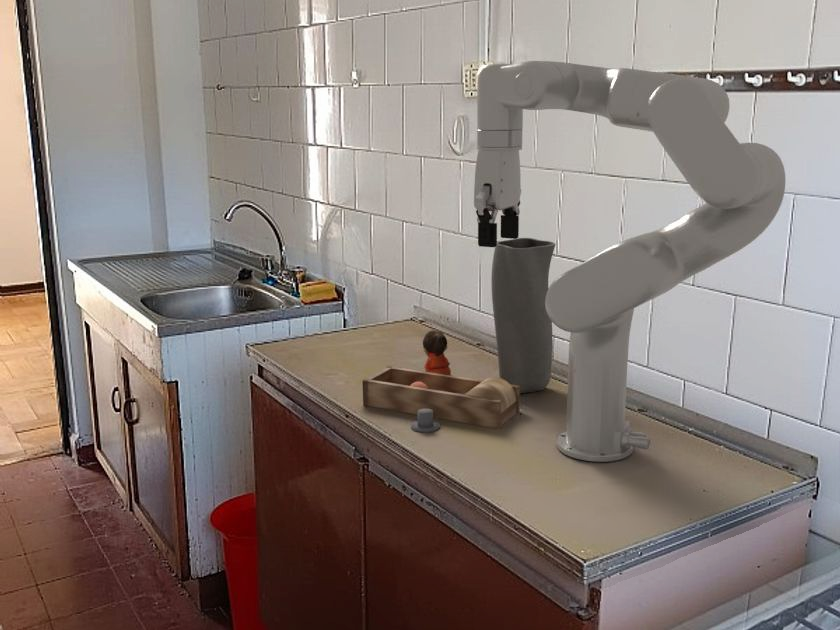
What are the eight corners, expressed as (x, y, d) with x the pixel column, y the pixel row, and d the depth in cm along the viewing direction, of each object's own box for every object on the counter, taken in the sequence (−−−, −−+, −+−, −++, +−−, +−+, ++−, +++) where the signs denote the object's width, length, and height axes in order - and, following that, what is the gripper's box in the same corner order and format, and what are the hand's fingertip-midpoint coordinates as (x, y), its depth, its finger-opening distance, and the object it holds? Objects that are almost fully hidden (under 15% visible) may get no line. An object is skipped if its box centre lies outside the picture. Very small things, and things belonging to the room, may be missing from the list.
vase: (506, 402, 167) (508, 249, 160) (482, 383, 179) (482, 240, 171) (563, 395, 171) (567, 245, 164) (535, 376, 182) (538, 236, 175)
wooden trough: (519, 418, 163) (519, 378, 161) (498, 437, 155) (499, 394, 153) (389, 397, 176) (388, 359, 174) (363, 412, 167) (362, 373, 165)
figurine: (458, 386, 177) (458, 330, 174) (440, 393, 173) (440, 335, 170) (435, 380, 181) (435, 325, 178) (417, 386, 177) (416, 330, 174)
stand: (444, 424, 156) (444, 408, 156) (431, 434, 152) (431, 418, 151) (419, 420, 159) (419, 404, 158) (405, 429, 154) (405, 413, 154)
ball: (430, 401, 168) (412, 394, 170) (433, 383, 167) (415, 376, 168) (420, 408, 164) (402, 401, 166) (424, 389, 163) (405, 382, 165)
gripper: (499, 138, 153) (498, 233, 157) (457, 143, 138) (457, 248, 143) (539, 138, 150) (537, 236, 154) (500, 143, 135) (499, 251, 139)
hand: (498, 242), depth 148 cm, fingers open, 9 cm apart
